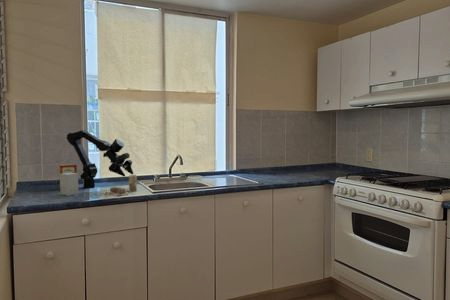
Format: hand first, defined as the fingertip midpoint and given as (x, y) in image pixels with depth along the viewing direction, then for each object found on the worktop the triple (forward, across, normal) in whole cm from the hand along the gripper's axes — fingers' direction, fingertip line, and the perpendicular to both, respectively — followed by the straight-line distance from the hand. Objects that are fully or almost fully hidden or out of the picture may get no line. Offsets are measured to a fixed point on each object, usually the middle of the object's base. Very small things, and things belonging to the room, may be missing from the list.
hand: (129, 175), depth 217 cm
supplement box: (-12, -22, +26) cm, 36 cm away
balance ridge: (+7, -12, +7) cm, 16 cm away
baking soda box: (-22, -8, +36) cm, 43 cm away
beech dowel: (+9, 0, +5) cm, 10 cm away
